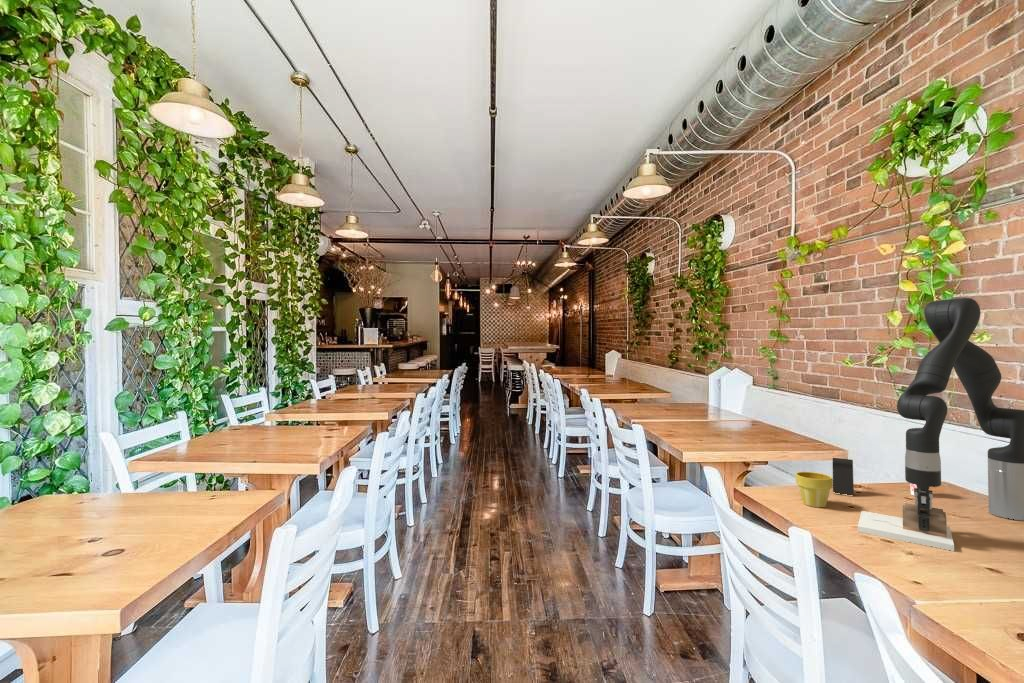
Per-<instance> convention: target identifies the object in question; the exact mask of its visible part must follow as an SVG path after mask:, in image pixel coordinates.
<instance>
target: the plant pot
mask: <svg viewBox="0 0 1024 683" xmlns="http://www.w3.org/2000/svg"><path fill="white" fill-rule="evenodd" d="M795 483H796V484H797V486H798V491H799V493H800V497H801V501H802V504H803V503H804V504H803V505H805V506H807V505H808V506H807V507H811V506H812V507H813V508H818V507H823V508H826V507H827V504H828V499H829V495H830V492H831V489H833V476H831V475H828V474H826V473H825V474H824V473H820V472H815V471H798V472H796V473H795Z"/></svg>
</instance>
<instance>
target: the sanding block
mask: <svg viewBox="0 0 1024 683" xmlns="http://www.w3.org/2000/svg"><path fill="white" fill-rule="evenodd" d="M917 512H918V508H917V507H916V506H915V504H913V503H906V502H905V503H904V504H903V505H902V518H903V529H906V530H911V531H916V532H921V533H927V534H932V535H937V536H942V537H947V526H948V525H947V515H946V512H945V511H944V510H943V508H937V507H932V509H931V510H930V515H931V517H930V518H929V531H928V532H927V531H922V530H919V519H918V515H917ZM920 512H926V513H927V509H922V508H921V509H920Z"/></svg>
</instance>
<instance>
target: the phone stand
mask: <svg viewBox="0 0 1024 683" xmlns="http://www.w3.org/2000/svg"><path fill="white" fill-rule="evenodd" d="M832 479H833V485H832V493H833V492H835V493H840V494H847V495H854V496H855V494H854V493H855V490H854V487H855V486H854V461H853V459H851V458H849V459H848V458H839V457H832Z"/></svg>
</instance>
